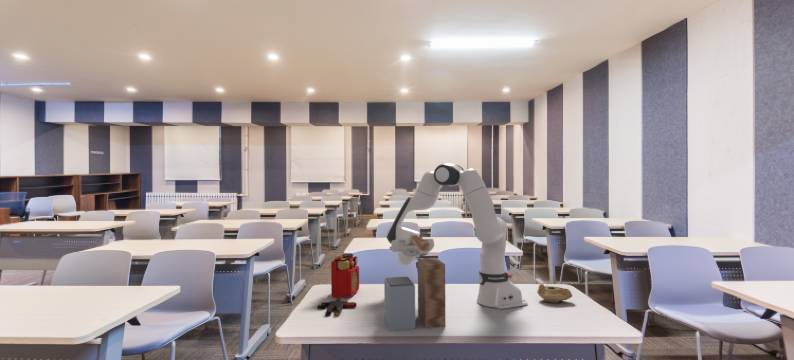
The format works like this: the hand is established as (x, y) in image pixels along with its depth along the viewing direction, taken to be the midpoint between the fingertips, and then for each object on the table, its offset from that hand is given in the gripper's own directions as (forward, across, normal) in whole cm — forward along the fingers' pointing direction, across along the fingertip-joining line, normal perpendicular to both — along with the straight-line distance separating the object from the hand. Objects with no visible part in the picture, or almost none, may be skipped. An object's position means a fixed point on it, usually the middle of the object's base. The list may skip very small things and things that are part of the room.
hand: (415, 238), depth 169 cm
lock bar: (+5, 0, +5) cm, 7 cm away
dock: (+3, -11, +36) cm, 38 cm away
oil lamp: (-9, +65, +30) cm, 72 cm away
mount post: (+3, +2, +36) cm, 36 cm away
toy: (-17, -36, +26) cm, 48 cm away
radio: (-36, -30, +15) cm, 49 cm away
